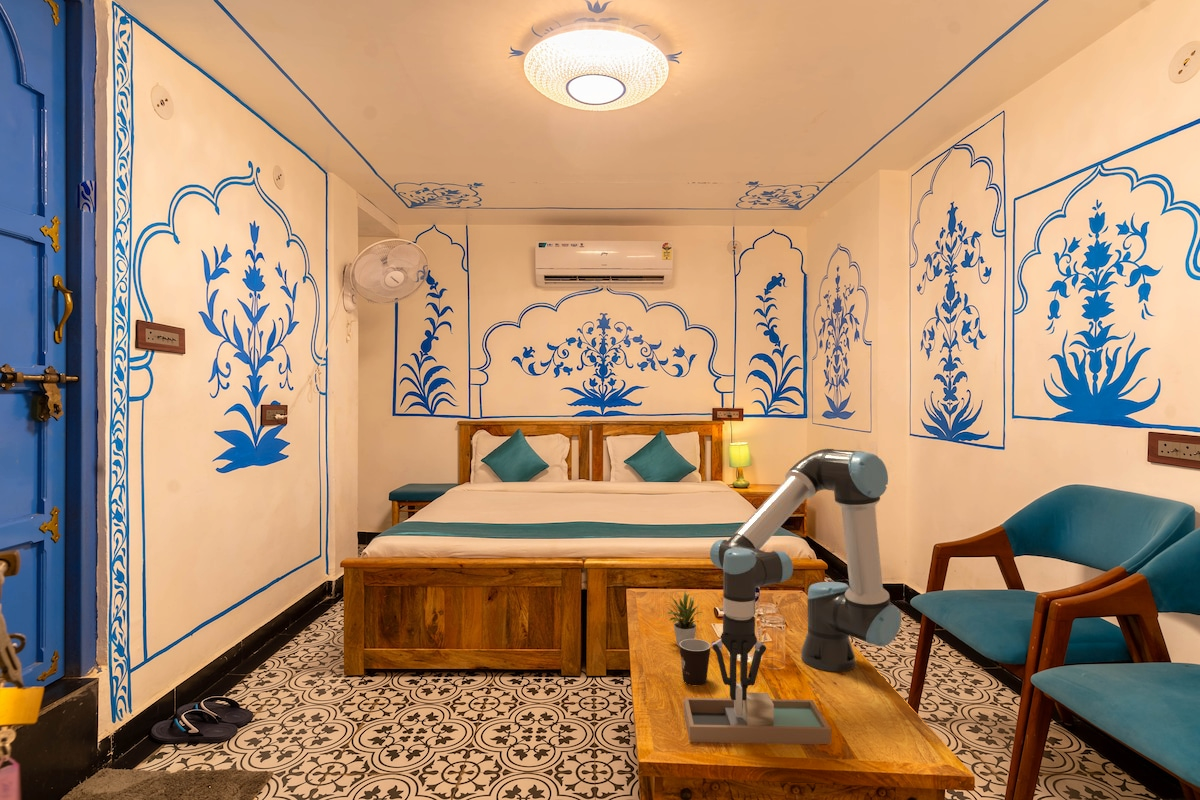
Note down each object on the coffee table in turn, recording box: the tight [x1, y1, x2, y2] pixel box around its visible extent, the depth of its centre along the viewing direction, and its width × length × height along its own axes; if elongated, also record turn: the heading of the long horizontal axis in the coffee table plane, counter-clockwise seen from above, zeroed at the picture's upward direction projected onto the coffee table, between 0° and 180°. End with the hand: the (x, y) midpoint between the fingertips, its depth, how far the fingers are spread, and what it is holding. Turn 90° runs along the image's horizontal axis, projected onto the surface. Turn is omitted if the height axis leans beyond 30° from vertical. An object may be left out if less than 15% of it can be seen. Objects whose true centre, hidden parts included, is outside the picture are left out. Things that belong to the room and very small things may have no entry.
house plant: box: [665, 591, 704, 648], centre depth 205 cm, size 14×14×16 cm
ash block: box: [743, 691, 774, 726], centre depth 154 cm, size 6×6×5 cm
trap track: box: [683, 697, 832, 745], centre depth 154 cm, size 32×14×4 cm, turn 88°
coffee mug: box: [678, 638, 712, 686], centre depth 180 cm, size 12×9×10 cm
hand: (737, 712), depth 154 cm, fingers closed
